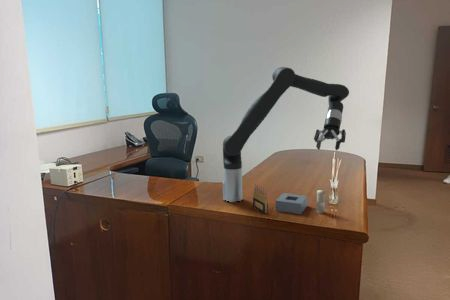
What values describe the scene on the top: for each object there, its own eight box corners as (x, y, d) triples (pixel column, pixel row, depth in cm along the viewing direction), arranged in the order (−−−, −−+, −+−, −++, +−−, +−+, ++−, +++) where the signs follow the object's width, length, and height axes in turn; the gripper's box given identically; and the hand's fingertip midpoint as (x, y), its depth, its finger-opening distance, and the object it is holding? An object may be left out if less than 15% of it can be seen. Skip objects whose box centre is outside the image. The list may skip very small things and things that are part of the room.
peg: (315, 212, 157) (316, 192, 155) (317, 210, 160) (317, 189, 158) (323, 213, 156) (324, 192, 154) (325, 211, 159) (325, 190, 157)
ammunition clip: (268, 213, 158) (267, 188, 156) (264, 214, 157) (264, 189, 155) (256, 206, 167) (255, 182, 165) (252, 207, 167) (252, 183, 164)
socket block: (275, 210, 161) (275, 200, 160) (283, 202, 172) (283, 193, 171) (301, 214, 156) (301, 203, 155) (307, 205, 166) (307, 195, 165)
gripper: (316, 116, 170) (310, 144, 163) (346, 116, 162) (340, 145, 155) (320, 125, 175) (314, 152, 168) (349, 125, 167) (344, 153, 160)
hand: (327, 149), depth 162 cm, fingers open, 8 cm apart
